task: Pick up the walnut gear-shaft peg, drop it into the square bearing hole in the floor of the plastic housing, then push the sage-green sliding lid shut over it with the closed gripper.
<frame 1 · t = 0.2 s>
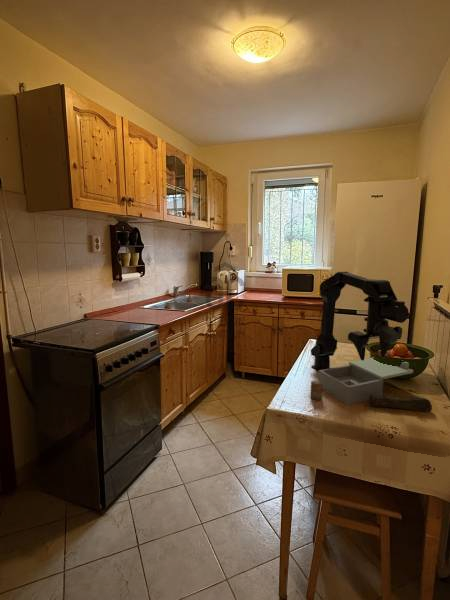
hand: (372, 358, 113), 14 cm above the table, fingers open, 9 cm apart
lid: (380, 364, 124), point 8 cm above the table, slide at 15.0 cm
dark brown rough bar: (399, 408, 108), on the table
housing: (348, 391, 120), on the table
peg: (316, 398, 114), on the table
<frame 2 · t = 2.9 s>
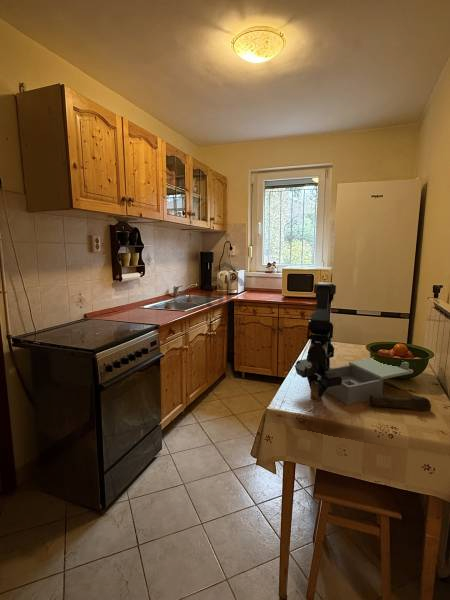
hand: (316, 394, 114), 2 cm above the table, fingers closed on peg, 4 cm apart
peg: (316, 398, 114), on the table, touching gripper
everything else where it was.
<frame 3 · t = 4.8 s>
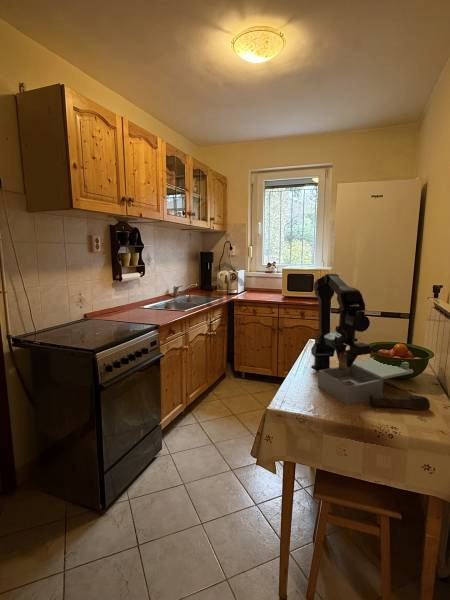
hand: (344, 365, 117), 11 cm above the table, fingers closed on peg, 4 cm apart
peg: (344, 369, 117), point 9 cm above the table, touching gripper
everything else where it was.
when the fingers open (3 cm above the table, at t = 6.7 s): peg drops 2 cm, resting in housing.
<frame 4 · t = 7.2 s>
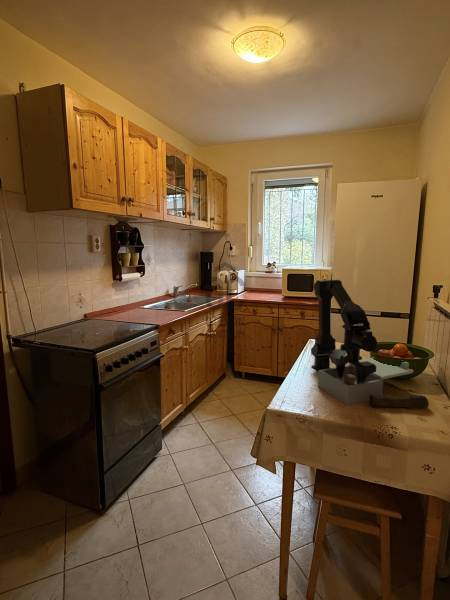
hand: (349, 382, 119), 3 cm above the table, fingers open, 9 cm apart
peg: (348, 391, 120), resting in housing
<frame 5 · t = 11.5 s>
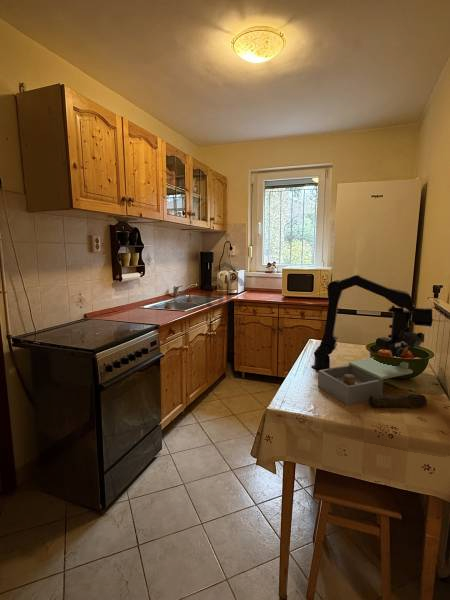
hand: (396, 361, 127), 8 cm above the table, fingers closed
lid: (379, 364, 124), point 8 cm above the table, slide at 14.7 cm, touching gripper
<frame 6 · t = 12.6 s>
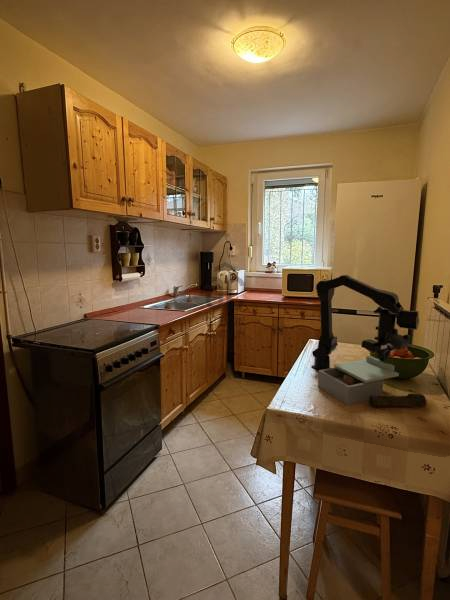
hand: (383, 363, 125), 8 cm above the table, fingers closed
lid: (365, 367, 121), point 8 cm above the table, slide at 7.5 cm, touching gripper
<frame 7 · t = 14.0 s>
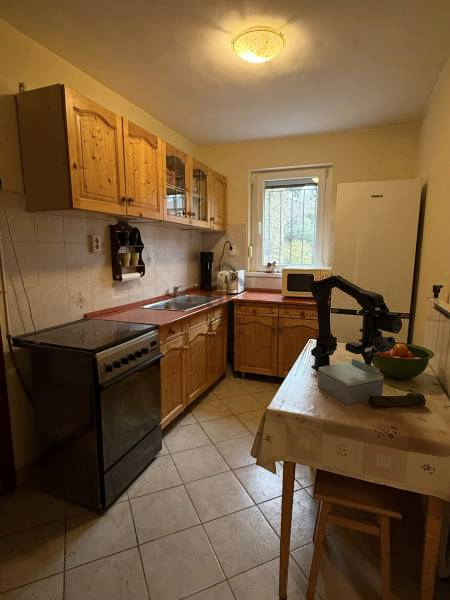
hand: (368, 366, 122), 8 cm above the table, fingers closed
lid: (350, 370, 118), point 8 cm above the table, slide at -0.1 cm, touching gripper
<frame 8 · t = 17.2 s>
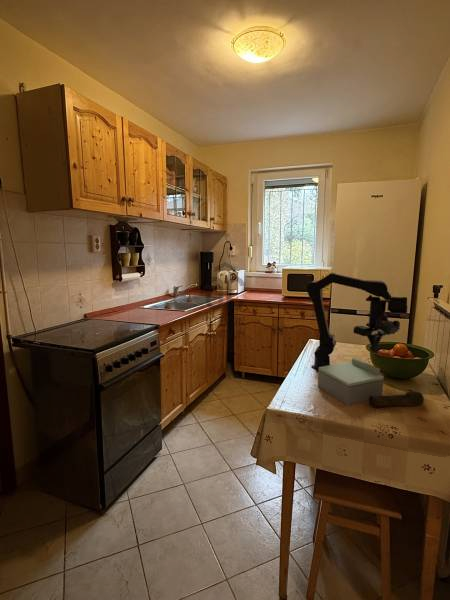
hand: (374, 349, 131), 12 cm above the table, fingers closed
lid: (350, 370, 118), point 8 cm above the table, slide at 0.0 cm
at the end: peg 0.1 cm off-centre on the housing, point 0.0 cm above the housing's base; peg tilted 1°; lid slide at 0.0 cm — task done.
